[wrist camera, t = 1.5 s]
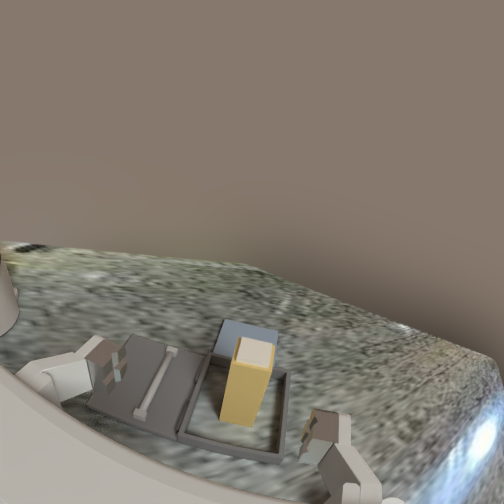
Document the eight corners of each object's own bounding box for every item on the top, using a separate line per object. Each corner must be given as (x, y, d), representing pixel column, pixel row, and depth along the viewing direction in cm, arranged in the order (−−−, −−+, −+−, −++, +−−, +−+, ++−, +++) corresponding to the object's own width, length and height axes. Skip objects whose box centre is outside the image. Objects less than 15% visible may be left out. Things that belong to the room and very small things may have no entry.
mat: (211, 358, 47) (211, 355, 47) (224, 322, 56) (225, 318, 56) (272, 373, 47) (273, 369, 46) (277, 334, 56) (278, 331, 55)
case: (87, 407, 33) (84, 399, 32) (132, 337, 47) (132, 328, 47) (279, 464, 32) (283, 458, 31) (287, 378, 46) (290, 370, 45)
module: (219, 420, 37) (231, 359, 31) (225, 396, 41) (239, 333, 35) (251, 427, 37) (273, 368, 31) (256, 402, 41) (276, 341, 35)
